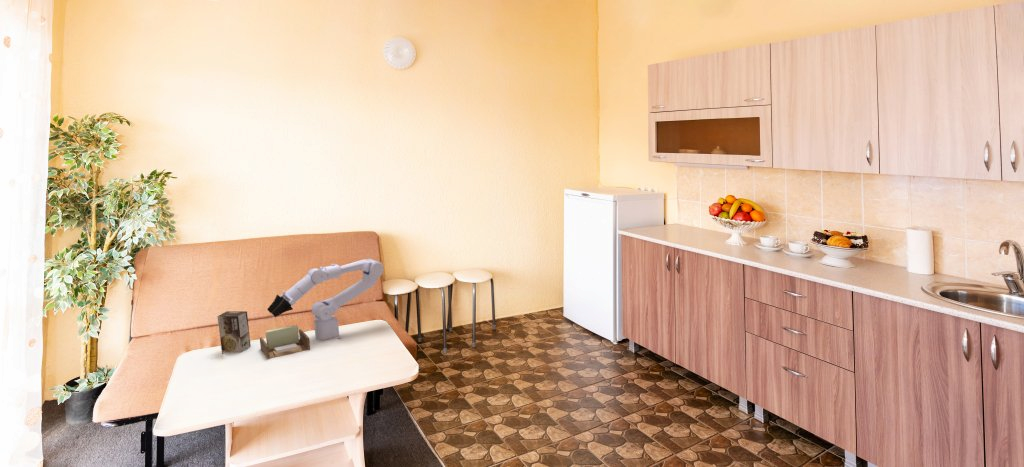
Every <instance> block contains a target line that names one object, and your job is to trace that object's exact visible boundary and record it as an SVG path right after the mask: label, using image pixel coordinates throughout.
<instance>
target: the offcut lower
mask: <svg viewBox="0 0 1024 467" xmlns="http://www.w3.org/2000/svg"><path fill="white" fill-rule="evenodd" d="M300 351H302V348H301V347H300V345H298V349H295V350H290V351H286V352H281V353H276V352H275V351H273V354H274V356H275V358H278V357H277V356H280V357H283V356H282V355H284V356H287V355H286V354H289V355H292V354H291V353H293V354H296V353H295V352H298V353H301V352H300ZM302 352H303V351H302Z"/></svg>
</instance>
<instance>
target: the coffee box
mask: <svg viewBox="0 0 1024 467" xmlns="http://www.w3.org/2000/svg"><path fill="white" fill-rule="evenodd" d="M217 323H218V324H217V325H218V331H219V340H220V348H221V354H222V355H223V354H224V353H243V352H244V351H247V350H248V349H250V348H251V347H252V346H251V345H252V344H251V336H250V328H249V327H250V326H249V317H248V311H243V310H242V311H234V310H233V311H229V310H228V311H227V310H226V311H224V312H223V313H221V314H219V315H218V316H217Z"/></svg>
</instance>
